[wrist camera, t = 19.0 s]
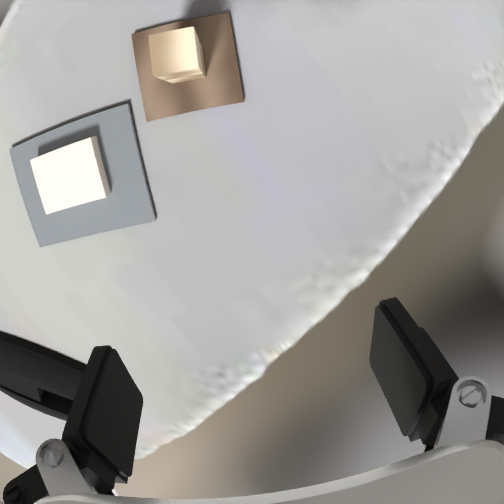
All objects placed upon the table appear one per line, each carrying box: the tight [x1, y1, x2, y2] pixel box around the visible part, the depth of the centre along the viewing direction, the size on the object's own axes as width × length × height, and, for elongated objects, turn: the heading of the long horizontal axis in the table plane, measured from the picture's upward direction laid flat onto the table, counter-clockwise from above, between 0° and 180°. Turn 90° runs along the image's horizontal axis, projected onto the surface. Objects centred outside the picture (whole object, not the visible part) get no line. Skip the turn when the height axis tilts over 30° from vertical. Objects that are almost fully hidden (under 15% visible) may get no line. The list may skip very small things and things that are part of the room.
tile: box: [30, 136, 111, 214], centre depth 36 cm, size 10×2×8 cm
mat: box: [9, 103, 156, 247], centre depth 38 cm, size 20×16×1 cm
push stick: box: [148, 27, 206, 83], centre depth 27 cm, size 4×4×11 cm
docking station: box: [0, 332, 86, 421], centre depth 53 cm, size 25×40×5 cm, turn 72°
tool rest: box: [132, 13, 244, 122], centre depth 33 cm, size 12×12×1 cm
